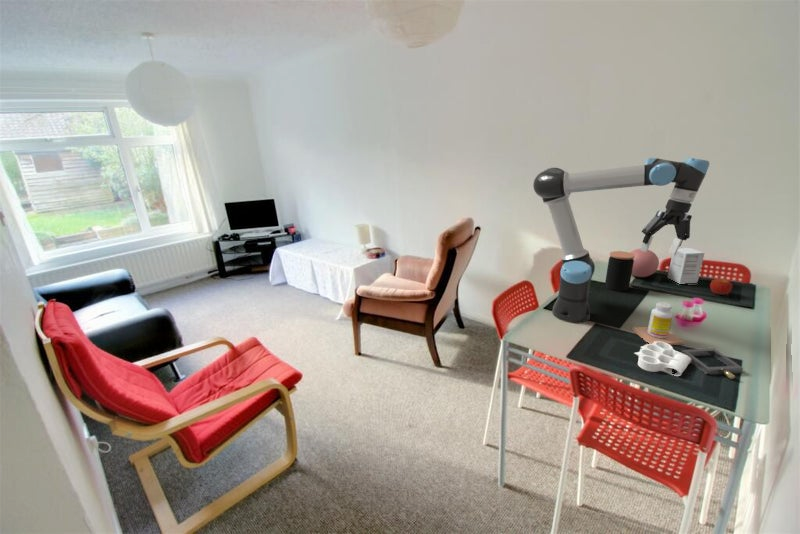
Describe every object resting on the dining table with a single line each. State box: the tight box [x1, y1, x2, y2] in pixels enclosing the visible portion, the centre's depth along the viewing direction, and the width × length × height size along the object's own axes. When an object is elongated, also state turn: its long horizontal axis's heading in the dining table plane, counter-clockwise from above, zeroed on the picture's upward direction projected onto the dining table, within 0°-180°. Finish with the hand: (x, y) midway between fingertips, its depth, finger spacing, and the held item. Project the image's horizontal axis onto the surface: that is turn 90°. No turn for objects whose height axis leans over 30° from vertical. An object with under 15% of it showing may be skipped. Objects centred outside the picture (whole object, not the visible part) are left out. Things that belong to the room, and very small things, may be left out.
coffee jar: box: [604, 250, 635, 292], centre depth 181 cm, size 11×11×18 cm
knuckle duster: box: [634, 341, 691, 377], centre depth 126 cm, size 3×18×15 cm
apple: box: [709, 278, 733, 295], centre depth 170 cm, size 8×8×8 cm
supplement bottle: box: [647, 301, 674, 338], centre depth 138 cm, size 7×7×13 cm
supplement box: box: [667, 247, 705, 285], centre depth 185 cm, size 10×9×17 cm
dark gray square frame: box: [681, 348, 744, 380], centre depth 122 cm, size 11×14×2 cm
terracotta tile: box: [631, 326, 685, 346], centre depth 140 cm, size 12×12×1 cm
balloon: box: [629, 248, 660, 278], centre depth 196 cm, size 15×20×15 cm
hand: (657, 252), depth 145 cm, fingers open, 13 cm apart
